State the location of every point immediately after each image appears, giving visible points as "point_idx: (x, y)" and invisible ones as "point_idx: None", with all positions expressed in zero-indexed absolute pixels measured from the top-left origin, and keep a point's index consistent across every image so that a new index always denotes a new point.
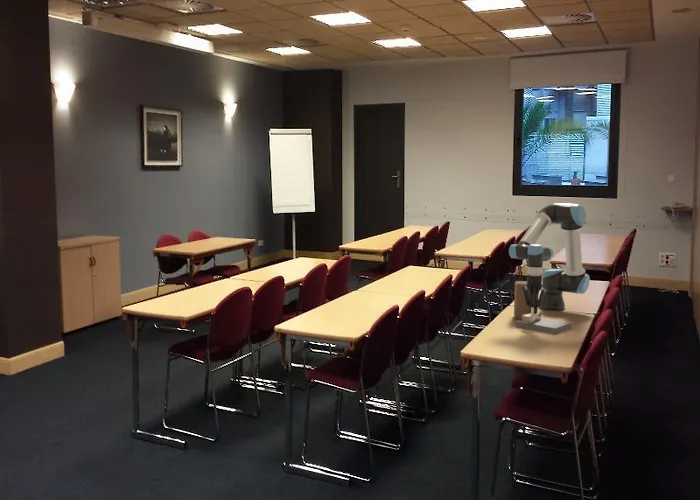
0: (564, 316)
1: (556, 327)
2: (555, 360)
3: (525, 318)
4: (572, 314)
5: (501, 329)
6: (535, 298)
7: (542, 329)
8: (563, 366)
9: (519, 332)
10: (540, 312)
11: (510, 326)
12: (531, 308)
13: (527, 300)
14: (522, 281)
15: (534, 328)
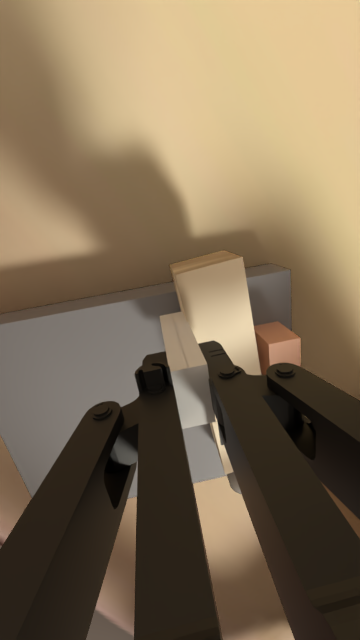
0: (235, 590)
1: None
2: None
3: (204, 263)
4: (234, 625)
5: (301, 94)
6: (154, 517)
7: (71, 304)
8: None
9: (153, 137)
10: (229, 479)
11: (303, 237)
12: (197, 359)
13: (317, 412)
14: None
15: (136, 292)
